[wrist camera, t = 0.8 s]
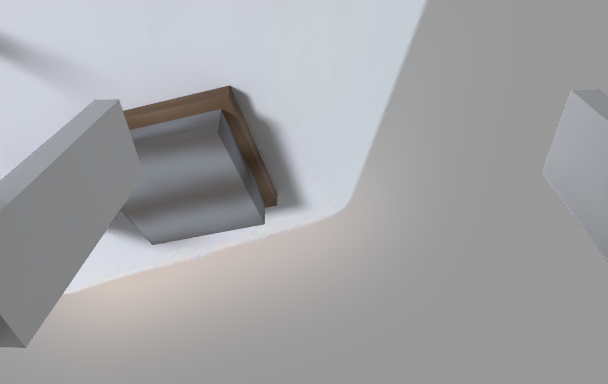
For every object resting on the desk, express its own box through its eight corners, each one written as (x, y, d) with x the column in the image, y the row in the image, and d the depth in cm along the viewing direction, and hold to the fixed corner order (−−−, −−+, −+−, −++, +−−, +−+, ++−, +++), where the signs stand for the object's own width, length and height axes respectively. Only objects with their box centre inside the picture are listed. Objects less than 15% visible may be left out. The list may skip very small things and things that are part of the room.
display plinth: (77, 121, 35) (58, 157, 32) (229, 85, 33) (225, 119, 30) (156, 218, 46) (148, 251, 43) (276, 194, 44) (277, 228, 41)
